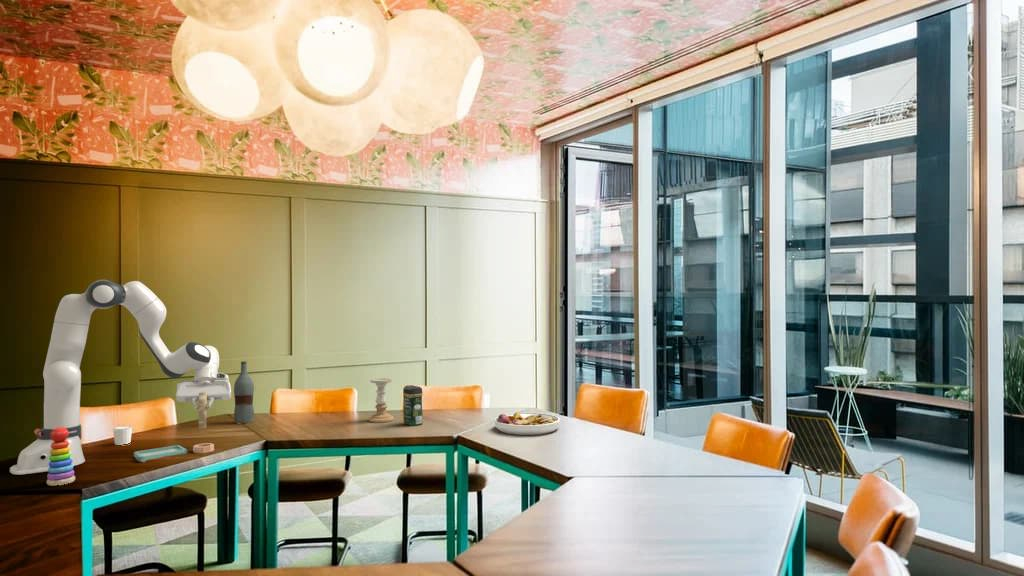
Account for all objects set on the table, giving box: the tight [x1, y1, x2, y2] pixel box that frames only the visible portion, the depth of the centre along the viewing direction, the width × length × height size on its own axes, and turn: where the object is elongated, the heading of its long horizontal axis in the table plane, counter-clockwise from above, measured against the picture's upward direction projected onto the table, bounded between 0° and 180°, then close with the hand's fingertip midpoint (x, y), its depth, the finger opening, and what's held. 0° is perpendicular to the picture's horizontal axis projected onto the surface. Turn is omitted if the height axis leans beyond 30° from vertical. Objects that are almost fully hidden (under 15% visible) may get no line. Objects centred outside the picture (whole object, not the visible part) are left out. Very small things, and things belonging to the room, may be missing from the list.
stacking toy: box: [46, 427, 76, 487], centre depth 215 cm, size 8×8×19 cm
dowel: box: [198, 392, 208, 430], centre depth 254 cm, size 3×3×14 cm
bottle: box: [233, 361, 255, 424], centre depth 315 cm, size 9×9×30 cm
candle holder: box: [368, 378, 395, 424], centre depth 317 cm, size 12×12×20 cm
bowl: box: [494, 412, 561, 436], centre depth 293 cm, size 30×30×8 cm
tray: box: [133, 444, 188, 463], centre depth 249 cm, size 16×11×2 cm
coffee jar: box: [402, 384, 424, 427], centre depth 307 cm, size 10×8×19 cm
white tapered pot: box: [112, 425, 133, 446], centre depth 271 cm, size 7×7×7 cm
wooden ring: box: [192, 442, 215, 454], centre depth 254 cm, size 7×7×3 cm
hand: (202, 407), depth 254 cm, fingers closed on dowel, 3 cm apart
